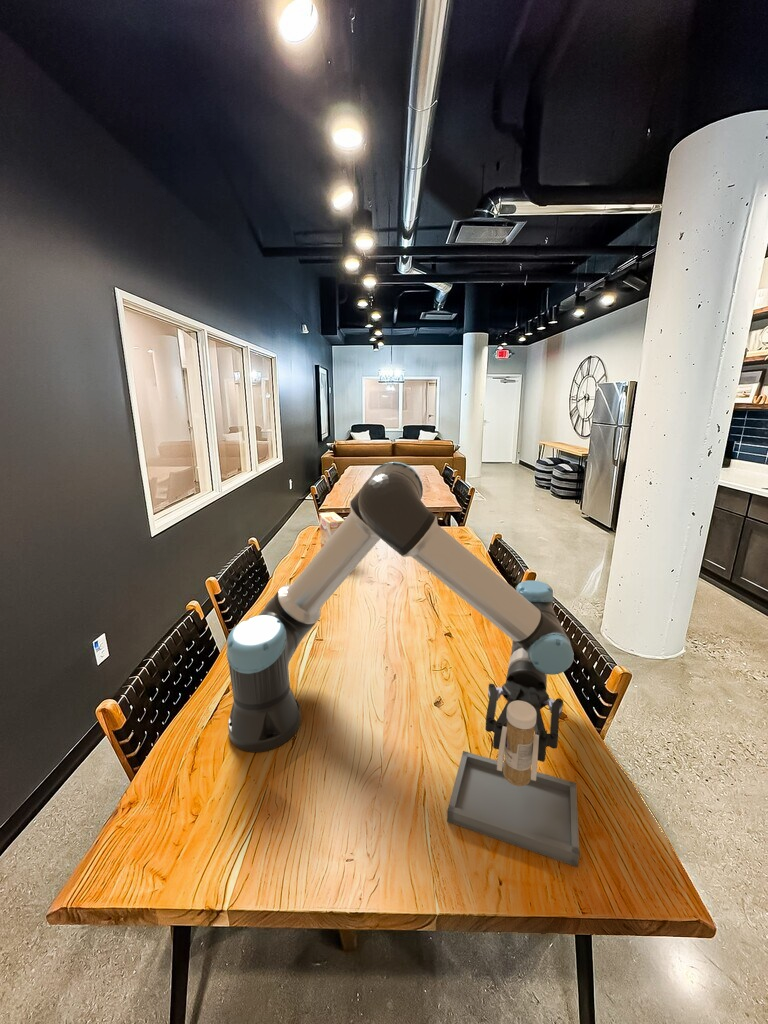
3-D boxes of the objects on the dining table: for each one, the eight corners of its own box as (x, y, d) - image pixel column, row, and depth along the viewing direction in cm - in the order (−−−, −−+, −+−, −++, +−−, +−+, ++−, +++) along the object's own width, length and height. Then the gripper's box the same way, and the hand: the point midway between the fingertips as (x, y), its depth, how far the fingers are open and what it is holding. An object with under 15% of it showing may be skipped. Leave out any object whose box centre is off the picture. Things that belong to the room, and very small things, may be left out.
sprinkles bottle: (499, 766, 74) (502, 700, 70) (524, 763, 74) (529, 697, 71) (509, 789, 69) (513, 720, 66) (536, 786, 70) (542, 718, 66)
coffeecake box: (320, 555, 190) (318, 513, 185) (336, 553, 193) (334, 511, 187) (331, 567, 177) (329, 522, 171) (347, 564, 180) (345, 520, 174)
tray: (447, 821, 71) (447, 810, 71) (462, 761, 83) (463, 750, 82) (577, 867, 64) (579, 854, 64) (574, 794, 76) (576, 783, 75)
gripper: (571, 702, 84) (576, 805, 63) (482, 682, 90) (459, 771, 69) (575, 668, 82) (581, 765, 61) (483, 651, 88) (460, 733, 67)
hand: (516, 768), depth 65 cm, fingers closed on sprinkles bottle, 4 cm apart
